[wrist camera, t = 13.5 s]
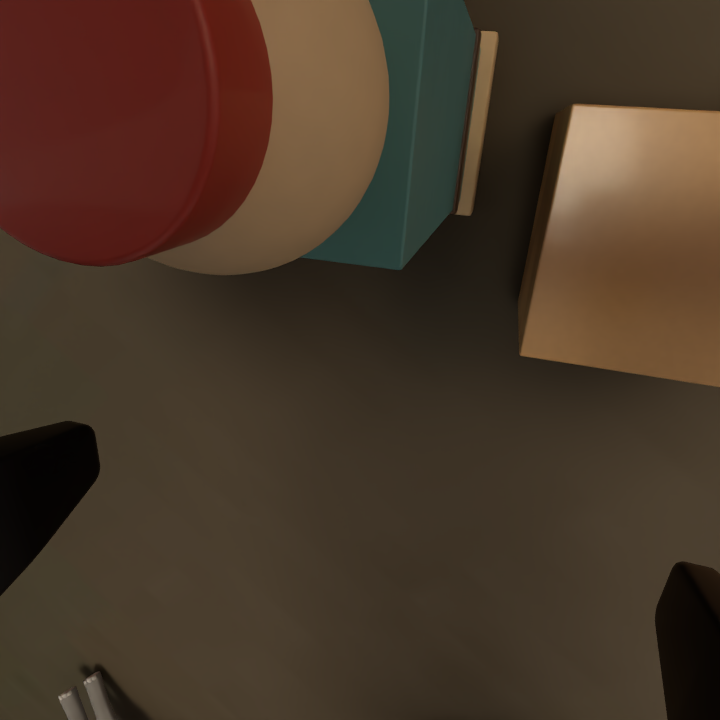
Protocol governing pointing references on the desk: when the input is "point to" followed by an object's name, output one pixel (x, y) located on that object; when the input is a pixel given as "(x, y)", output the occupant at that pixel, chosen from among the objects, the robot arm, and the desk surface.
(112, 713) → the elephant figurine
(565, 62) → the desk surface
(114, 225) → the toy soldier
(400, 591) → the desk surface
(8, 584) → the robot arm
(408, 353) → the desk surface
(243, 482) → the desk surface
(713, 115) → the pine block
